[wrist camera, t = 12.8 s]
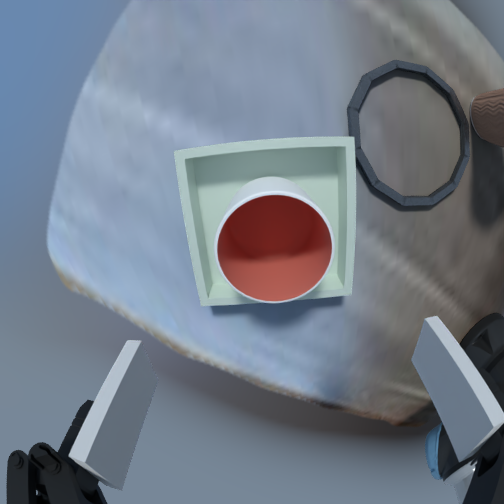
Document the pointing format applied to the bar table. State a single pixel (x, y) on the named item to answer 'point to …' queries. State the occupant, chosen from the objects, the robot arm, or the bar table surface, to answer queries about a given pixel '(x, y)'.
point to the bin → (257, 166)
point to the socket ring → (363, 161)
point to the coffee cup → (489, 116)
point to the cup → (273, 241)
